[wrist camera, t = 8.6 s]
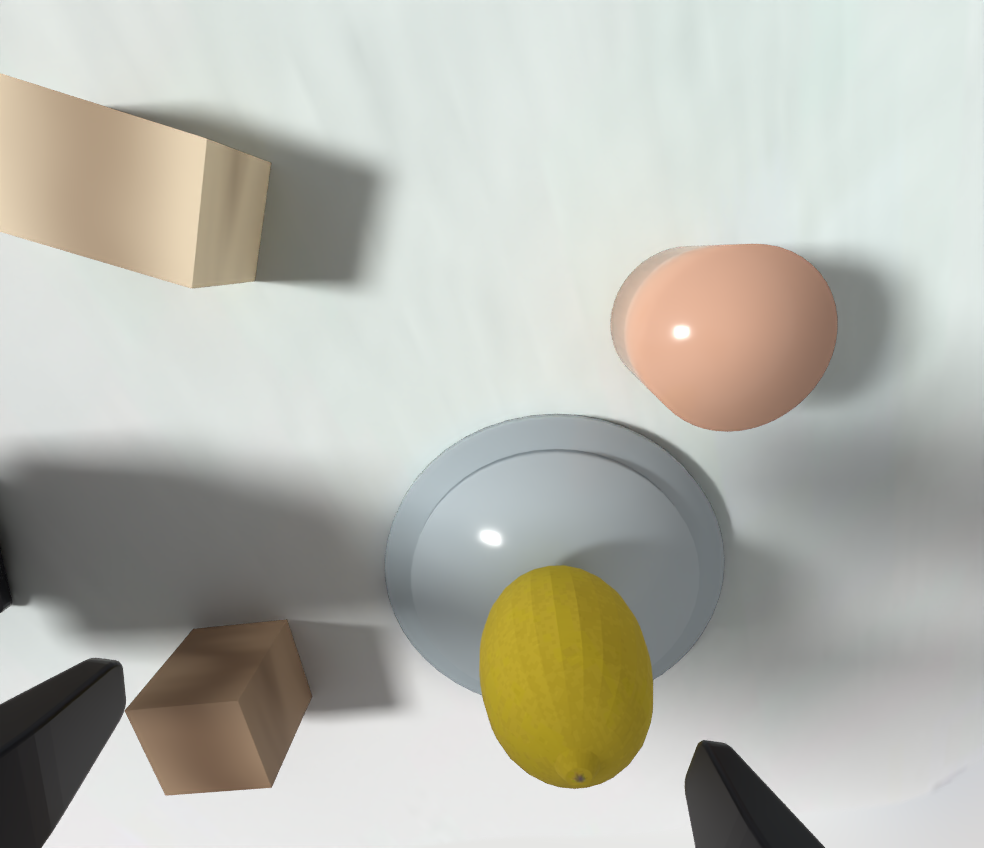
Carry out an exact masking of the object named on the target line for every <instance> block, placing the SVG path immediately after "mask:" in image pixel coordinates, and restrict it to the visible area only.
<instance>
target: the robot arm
mask: <svg viewBox="0 0 984 848" xmlns="http://www.w3.org/2000/svg"><path fill="white" fill-rule="evenodd" d="M11 604H12V599H11V594H10V590H9V585H8V581H7V576H6V572H5V568H4V563H3V559H2V554H1V550H0V613H1V612H3V611H4V610H5V609H7V608H8V607H10V605H11ZM125 705H126V695H125V685H124V675H123V667H122V665H121V663H120V662H119V661H116V660H109V659H102V658H91V659H87V660H85V661H83V662H81V663H79V664H77V665H75V666H73V667H71V668H69V669H68V670H66V671H64V672H62V673H60V674H58V675H56V676H54V677H52V678H50V679H48V680H46V681H44V682H42V683H41V684H39V685H37V686H35V687H33V688H31V689H29V690H27V691H25V692H23V693H21V694H19V695H17V696H15V697H14V698H12V699H10V700H8V701H6V702H4V703H2V704H0V848H42V846H43V845H44V843H45V842H46V840H47V839H48V837H49V836H50V835H51V833H52V832H53V830H54V828H55V827H56V825H57V824H58V822H59V821H60V819H61V817H62V816H63V814H64V813H65V811H66V809H67V808H68V806H69V804H70V803H71V801H72V799H73V798H74V796H75V794H76V793H77V791H78V789H79V788H80V786H81V784H82V783H83V781H84V779H85V778H86V776H87V774H88V773H89V771H90V769H91V768H92V766H93V764H94V763H95V761H96V759H97V758H98V756H99V754H100V753H101V751H102V749H103V748H104V746H105V744H106V743H107V741H108V739H109V738H110V736H111V734H112V733H113V731H114V729H115V728H116V726H117V724H118V723H119V721H120V719H121V717H122V715H123V713H124V709H125ZM685 795H686V800H687V805H688V811H689V816H690V821H691V826H692V832H693V836H694V842H695V848H825V847H824V846H823V845H822V844H821V843H820V842H819V841H818V839H817V838H816V837H815V836H814V835H813V834H812V833H811V832H810V831H809V830H808V829H807V828H806V827H805V826H804V824H803V823H802V822H801V821H800V820H799V819H798V818H797V817H796V816H795V815H794V814H793V813H792V812H791V811H790V809H789V808H788V807H787V806H786V805H785V804H784V803H783V802H782V801H781V800H780V799H779V798H778V797H777V796H776V795H775V793H774V792H773V791H772V790H771V789H770V788H769V787H768V786H767V785H766V784H765V783H764V782H763V781H762V780H761V778H760V777H759V776H758V775H757V774H756V773H755V772H754V771H753V770H752V769H751V768H750V767H749V766H748V765H747V763H746V762H745V761H744V760H743V759H742V758H741V757H740V756H739V755H738V754H737V753H736V752H735V751H734V750H733V749H732V748H731V747H730V746H729V745H727V744H725V743H722V742H714V741H707V740H703V741H701V742H700V743H698V745H697V747H696V750H695V753H694V755H693V758H692V761H691V763H690V766H689V769H688V771H687V774H686V778H685Z"/></svg>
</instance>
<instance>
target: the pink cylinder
mask: <svg viewBox="0 0 984 848" xmlns="http://www.w3.org/2000/svg"><path fill="white" fill-rule="evenodd" d="M611 335H612V340H613V344H614V347H615V349H616V352H617V354H618V356H619V357H620V359H621V361H622V362H623V363H624V365H625V366H626V367H627V368H628V369H629V370H630V371H631V372H632V373H633V374H634V375H635V376H636V377H637V378H638V379H639V380H640V381H641V382H642V383H643V384H644V385H645V386H646V387H647V388H648V389H649V390H650V391H651V392H652V393H653V394H654V395H655V396H656V397H657V398H658V399H659V400H660V401H661V402H662V403H663V404H664V405H665V406H666V407H667V408H668V409H670V410H671V411H672V412H673V413H674V414H675V415H677V416H678V417H680V418H681V419H683V420H684V421H686V422H688V423H690V424H692V425H695V426H698V427H701V428H704V429H709V430H714V431H727V432H728V431H741V430H746V429H752V428H755V427H758V426H761V425H764V424H767V423H769V422H771V421H774V420H776V419H777V418H779V417H781V416H783V415H784V414H786V413H787V412H789V411H790V410H792V409H793V408H794V407H796V406H797V405H798V404H799V403H800V402H801V401H802V400H804V399H805V398H806V397H807V396H808V394H809V393H810V392H811V391H812V390H813V389H814V388H815V386H816V385H817V383H818V382H819V381H820V379H821V378H822V376H823V374H824V372H825V370H826V369H827V367H828V365H829V362H830V360H831V357H832V355H833V351H834V347H835V343H836V337H837V311H836V305H835V302H834V298H833V295H832V293H831V290H830V288H829V286H828V284H827V282H826V281H825V280H824V278H823V277H822V275H821V274H820V272H819V271H818V270H817V269H816V268H815V267H814V266H813V265H812V264H811V263H809V262H808V261H807V260H805V259H804V258H803V257H801V256H799V255H797V254H795V253H794V252H792V251H789V250H786V249H783V248H781V247H777V246H771V245H765V244H736V245H707V246H684V247H676V248H672V249H668V250H665V251H662V252H659V253H657V254H656V255H654V256H652V257H650V258H648V259H647V260H645V261H644V262H642V263H641V264H640V265H639V266H638V267H637V268H636V269H634V271H633V272H632V273H631V274H630V275H629V276H628V277H627V279H626V280H625V282H624V283H623V284H622V286H621V288H620V290H619V292H618V294H617V296H616V299H615V301H614V305H613V309H612V314H611Z"/></svg>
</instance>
